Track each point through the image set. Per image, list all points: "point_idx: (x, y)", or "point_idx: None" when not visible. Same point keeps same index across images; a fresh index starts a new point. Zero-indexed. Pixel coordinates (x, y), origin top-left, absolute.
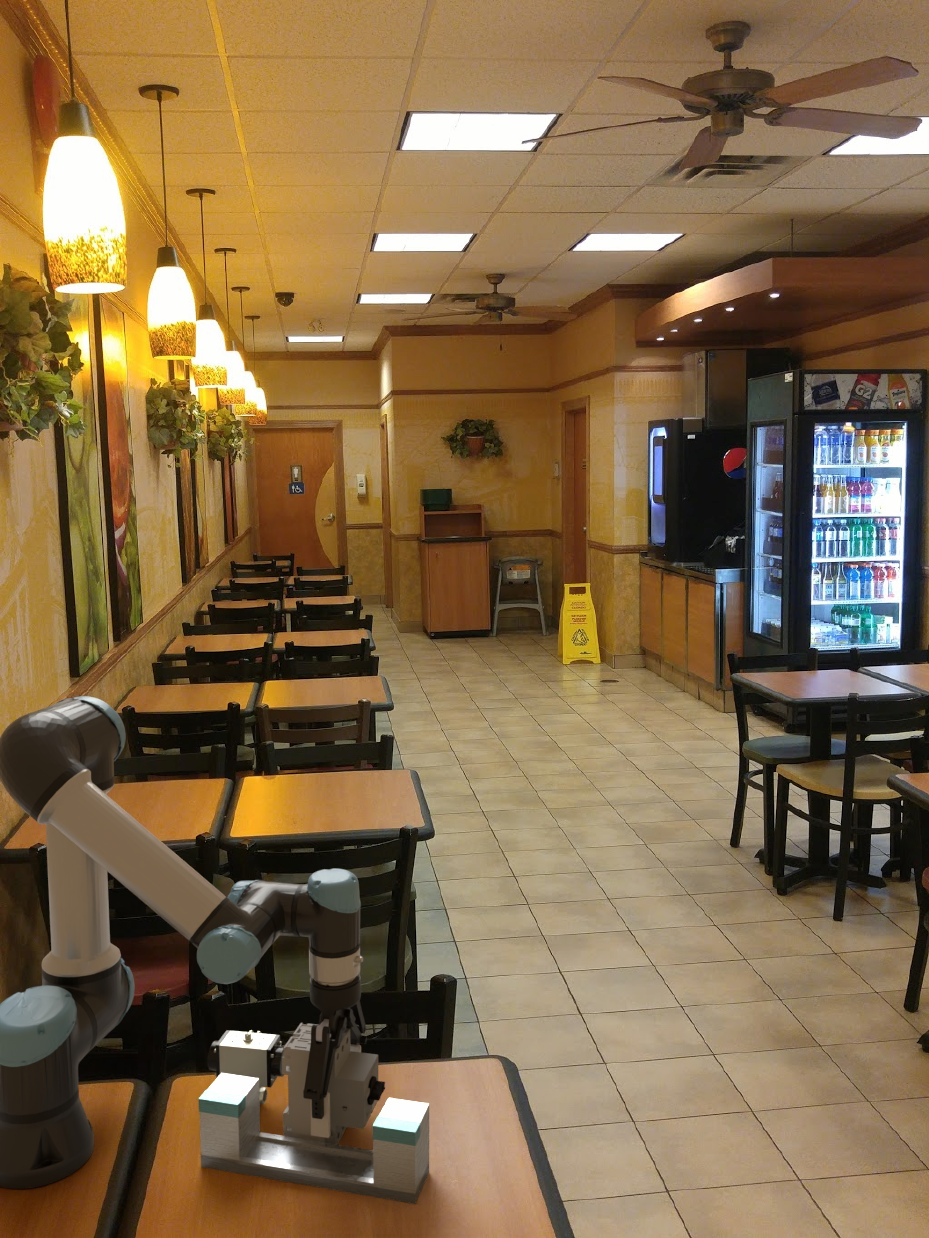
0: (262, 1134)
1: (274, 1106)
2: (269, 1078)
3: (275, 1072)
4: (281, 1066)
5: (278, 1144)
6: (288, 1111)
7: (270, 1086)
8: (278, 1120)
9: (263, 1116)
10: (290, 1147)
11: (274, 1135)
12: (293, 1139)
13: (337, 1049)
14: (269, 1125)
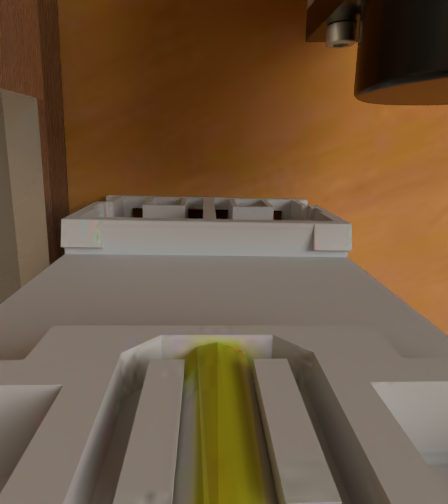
0: (22, 118)
1: (340, 67)
2: (328, 7)
3: (359, 48)
4: (413, 92)
5: (9, 211)
6: (82, 247)
7: (306, 37)
8: (242, 123)
9: (260, 42)
10: (8, 266)
11: (35, 180)
12: (37, 272)
13: None
14: (201, 96)
